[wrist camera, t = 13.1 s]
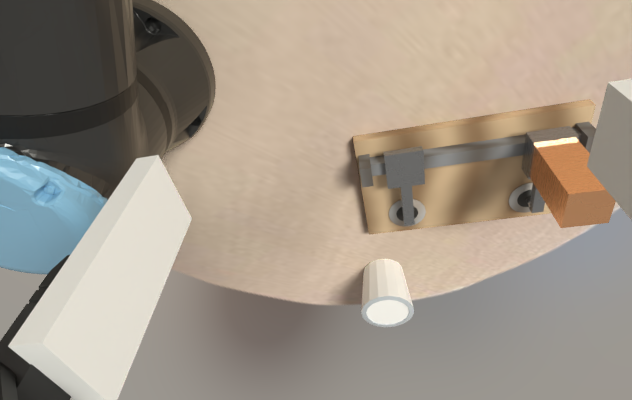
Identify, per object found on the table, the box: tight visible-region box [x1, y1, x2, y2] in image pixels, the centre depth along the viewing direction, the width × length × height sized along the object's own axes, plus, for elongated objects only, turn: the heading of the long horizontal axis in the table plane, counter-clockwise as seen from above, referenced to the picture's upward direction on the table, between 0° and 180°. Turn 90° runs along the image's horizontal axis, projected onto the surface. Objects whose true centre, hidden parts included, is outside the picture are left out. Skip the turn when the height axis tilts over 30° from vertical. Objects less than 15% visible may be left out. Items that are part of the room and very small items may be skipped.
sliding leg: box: [522, 126, 616, 228], centre depth 40 cm, size 4×11×11 cm, turn 12°
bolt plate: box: [353, 100, 596, 234], centre depth 46 cm, size 24×14×4 cm, turn 102°
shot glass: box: [361, 259, 414, 327], centre depth 56 cm, size 7×7×7 cm
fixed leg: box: [383, 146, 425, 226], centre depth 46 cm, size 4×11×2 cm, turn 12°
